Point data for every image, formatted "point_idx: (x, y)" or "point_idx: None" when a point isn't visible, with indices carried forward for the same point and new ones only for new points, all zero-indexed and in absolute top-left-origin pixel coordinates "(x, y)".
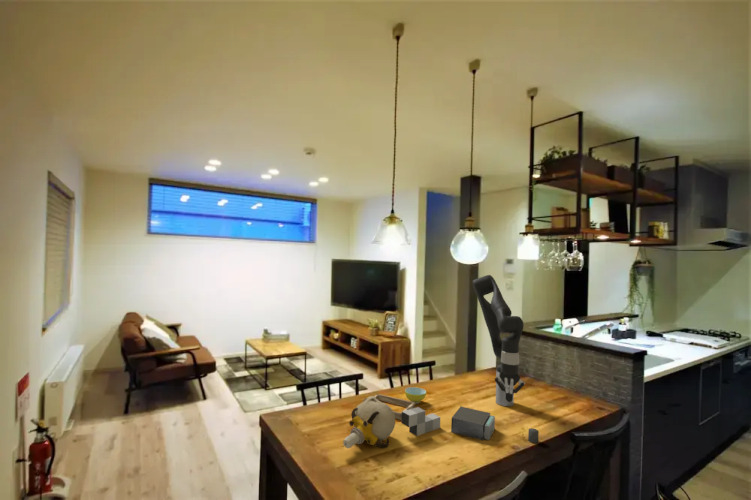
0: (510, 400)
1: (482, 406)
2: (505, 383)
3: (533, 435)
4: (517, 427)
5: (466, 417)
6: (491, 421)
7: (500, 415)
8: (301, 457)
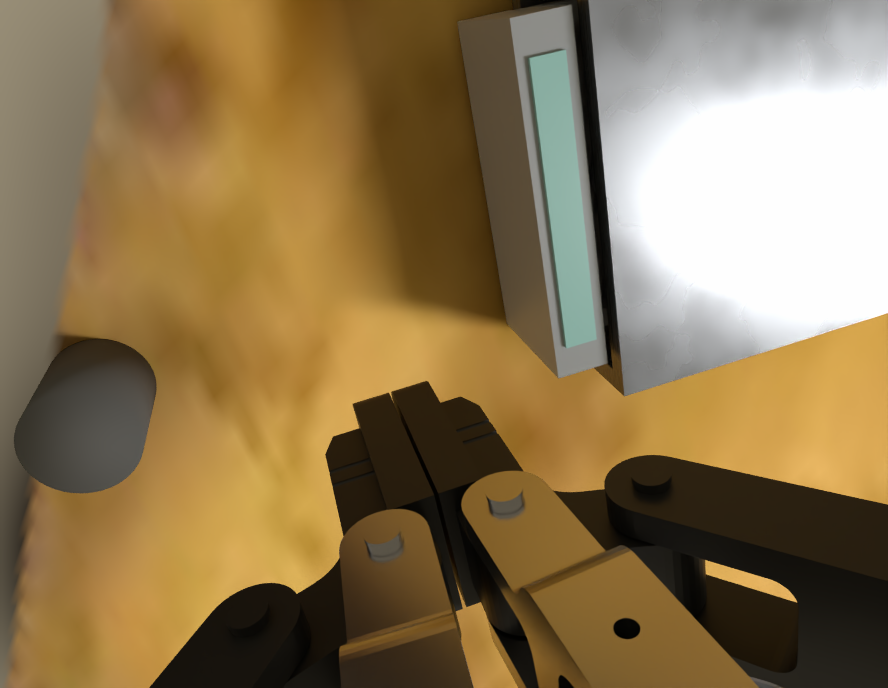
0: (359, 416)
1: None
2: (704, 665)
3: (59, 378)
4: None
5: (827, 34)
6: (541, 204)
7: None
8: None
